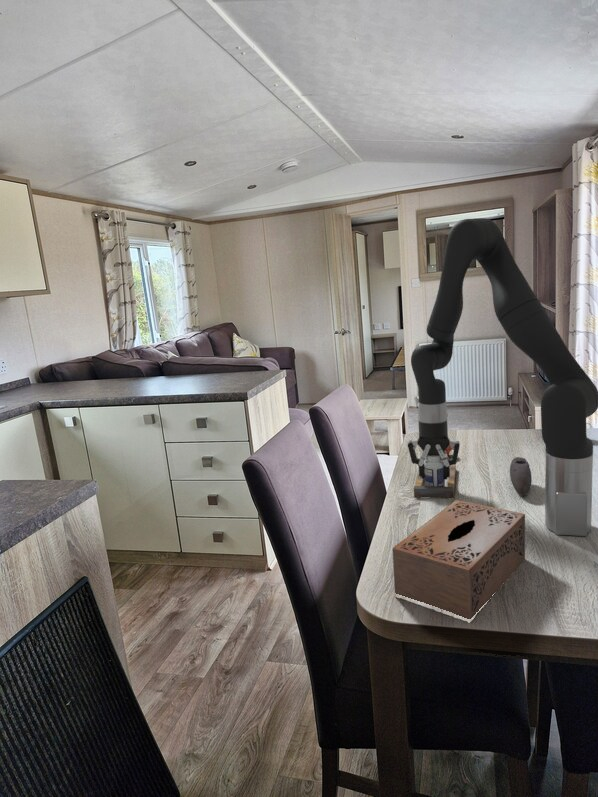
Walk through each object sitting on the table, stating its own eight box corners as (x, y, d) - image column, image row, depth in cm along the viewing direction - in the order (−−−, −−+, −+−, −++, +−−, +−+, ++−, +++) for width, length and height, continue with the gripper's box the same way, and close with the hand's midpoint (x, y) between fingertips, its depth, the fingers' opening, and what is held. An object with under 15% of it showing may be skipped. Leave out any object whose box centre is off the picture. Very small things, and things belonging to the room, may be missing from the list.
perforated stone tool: (533, 501, 137) (533, 474, 136) (511, 500, 139) (510, 474, 138) (529, 480, 151) (529, 456, 150) (509, 479, 153) (509, 455, 151)
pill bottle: (443, 484, 153) (442, 450, 151) (446, 491, 148) (445, 457, 146) (423, 485, 154) (422, 451, 152) (426, 492, 148) (424, 458, 146)
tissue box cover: (470, 625, 92) (468, 570, 90) (395, 598, 101) (392, 548, 99) (525, 560, 110) (525, 513, 108) (457, 543, 120) (456, 499, 118)
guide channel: (453, 498, 143) (453, 489, 142) (414, 497, 146) (413, 488, 145) (455, 470, 163) (455, 462, 163) (421, 469, 166) (420, 461, 166)
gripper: (403, 422, 145) (406, 482, 149) (460, 422, 141) (461, 484, 144) (407, 414, 152) (409, 472, 156) (461, 414, 148) (462, 474, 151)
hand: (434, 477), depth 150 cm, fingers closed on pill bottle, 5 cm apart
